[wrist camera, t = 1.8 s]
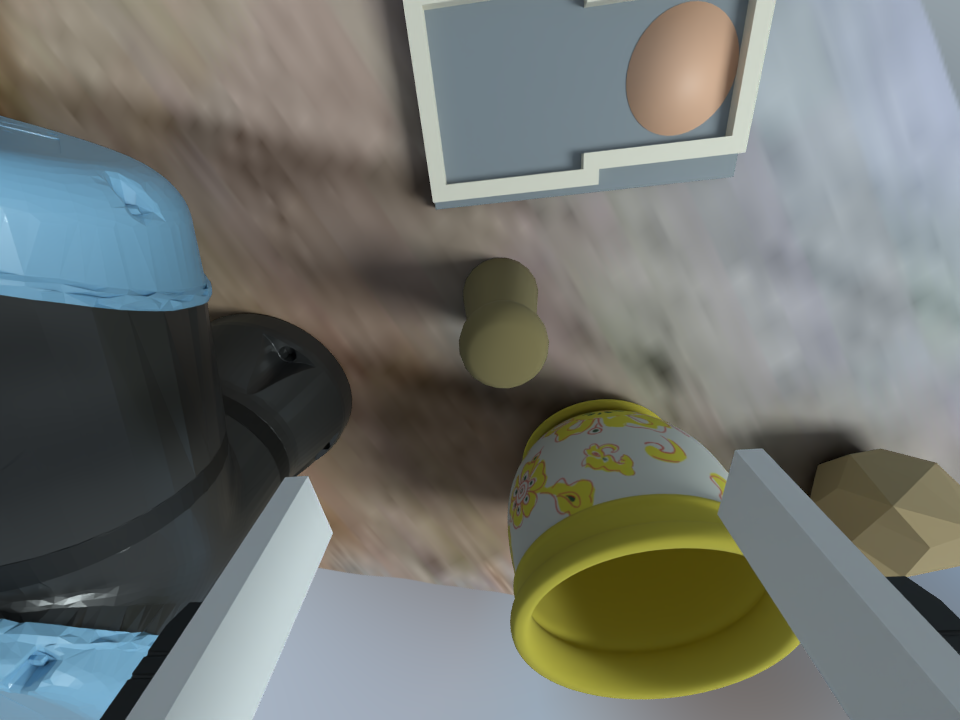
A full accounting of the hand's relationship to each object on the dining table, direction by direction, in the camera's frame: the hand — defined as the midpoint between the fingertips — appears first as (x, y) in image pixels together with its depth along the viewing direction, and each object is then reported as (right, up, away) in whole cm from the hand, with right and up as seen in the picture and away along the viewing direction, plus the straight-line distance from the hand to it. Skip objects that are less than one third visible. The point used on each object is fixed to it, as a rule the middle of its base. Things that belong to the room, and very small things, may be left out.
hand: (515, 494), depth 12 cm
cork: (+1, +10, +18) cm, 20 cm away
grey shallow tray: (+5, +21, +11) cm, 25 cm away
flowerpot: (+10, -5, +25) cm, 28 cm away
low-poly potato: (+35, -8, +26) cm, 44 cm away
